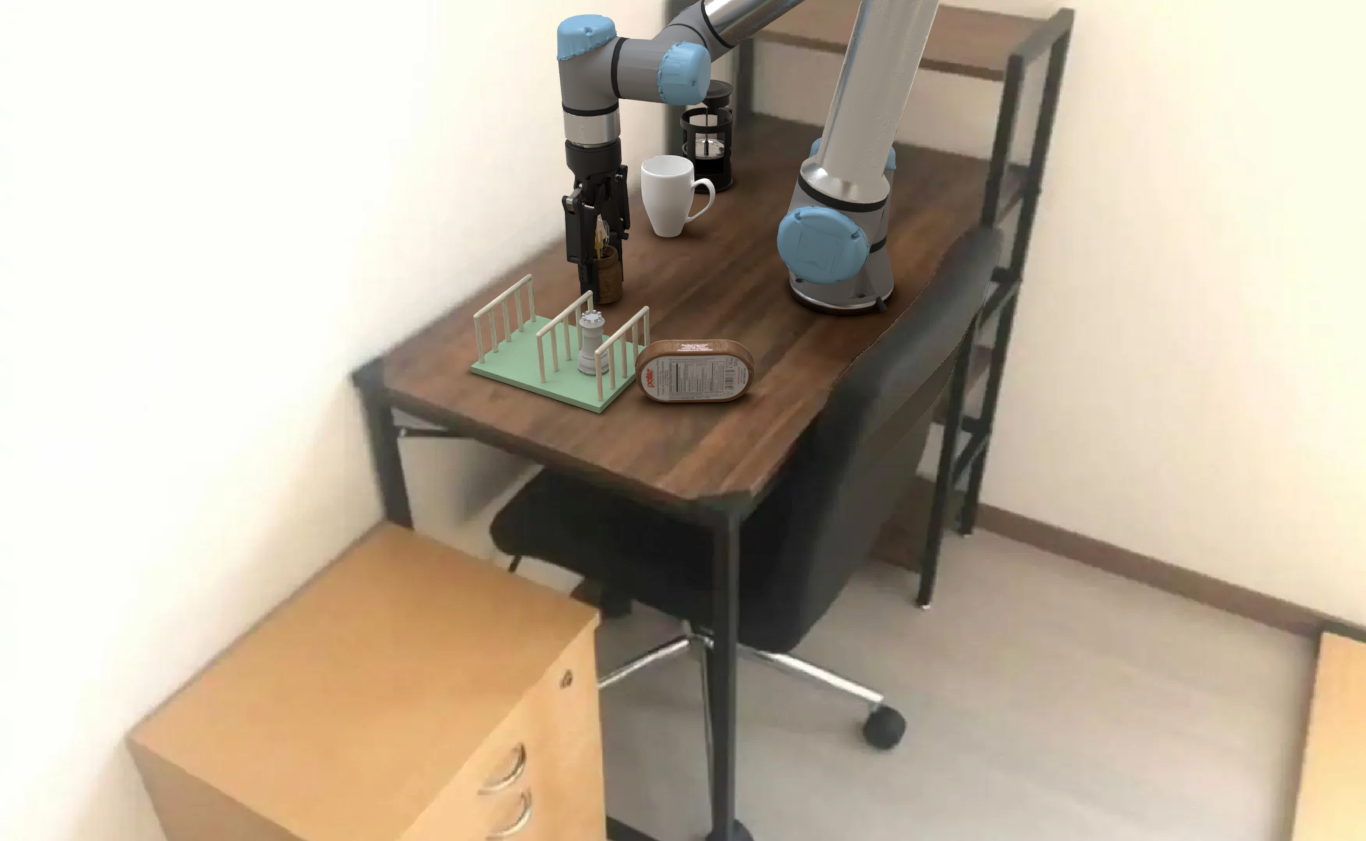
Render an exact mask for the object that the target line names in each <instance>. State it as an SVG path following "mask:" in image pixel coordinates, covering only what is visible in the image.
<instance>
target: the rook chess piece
mask: <svg viewBox="0 0 1366 841" xmlns="http://www.w3.org/2000/svg"><path fill="white" fill-rule="evenodd" d="M605 322H606V320H605V318H604V317H603V316H602V312H601V311H597V309H593V310H592V313H589V310H588V309H587V310H585V311H584V312H581V319H580V321H579V323H580V325H581V326H582V329H583V330H582V334H583V336H584V340H583V348H582V350H581V352H580V354H579V356H578V368H579V369H580V370H581V371H582V372H583V373H585V374H587V375H596V363H595V351H596V350H597V349H598V348H599V347H600V346H601V345H602V344H603V339H602V334H603V333H604V329H603V328H602V327H603V325H604V324H605ZM603 335H604V334H603ZM601 369H602V374H603V373H605V372H606V371H608V369H609V358H608V352H607V349H606V350H605V351H604V352H603V353H602V354H601Z"/></svg>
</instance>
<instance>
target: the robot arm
mask: <svg viewBox="0 0 1366 841" xmlns="http://www.w3.org/2000/svg"><path fill="white" fill-rule="evenodd" d="M805 1H806V0H698V1H697V2H695V3H694V4H692V5H690V6H687V7H686V8H684V9H682V10H681V11H680V12H679V13H677V14H676V15H675V16H674V17H673V19H672V21H670V22H669V24H667V25H666V26H665V27H663V29H661V30H660V31H659V32H658V33H657V34H656V35H655V36H654V37H653V38H652V39H651V38H650V39H646V38H630V37H624V36H618V34H617V32H618V31H617V30H616V26H615V22H614V20H613V19H612V18H611V17H609V16H603V15H602V14H597V13H588V14H587V13H584V14H576V15H572V16H569V17H566V18H565V19H563V20H562V21H561V22H560V23H559V24H558V26H557V29H556V42H557V43H556V49H557V50H556V53H557V54H556V61H557V66H558V76H559V84H560V86H559V87H560V95H561V108H562V119H563V120H562V122H563V134H564V137H565V141H564V151H565V162H566V166H567V168H568V169H569V170H570V171H571V172H572V174H573V175H574V180H573V186H572V188H573V191H572V192H571V194H570V195H566V194H565V195H562V197H561V205H562V208H563V211H564V225H565V226H564V228H565V229H564V230H565V248H566V249H565V250H566V252H565V253H566V261H567V263H571V264H575V265H577V273H578V281H579V288H580V289H579V290H580V297H581V296H582V295H584V294H585V293H586V292H587V291H589V290H591V291H592V292H593V295H592V296H593V304H597V303H598V302H600V294H599V279H598V264H597V260H593V258H594V248H595V241H596V234H595V230H597V228H598V222H597V220H598V217H599V216H600V217H601V220H602V221H601V223H602V225H603V228H604V232H605V237H603V244H606V245H607V243H608V245H610V246H613V247H614V248H616V250H617V252H618V256H619V258H618V261H619V262H620V265H621V270H622V283H623V282H625V281H624V263H623V259H624V258H623V241H628V240H629V237H630V233H629V232H625V231H629V230H630V229H631V215H630V201H629V189H628V173H629V166H628V165H627V164H623V156H622V155H623V154H622V140H621V138H620V136H621V132H622V129H621V115H620V114H621V113H620V100H630V101H638V102H647V103H656V104H665V105H669V106H673V107H677V106H697V105H700V104H701V103H702V101H703V100H704V99H705V97H706V93H707V90H708V89H709V85H710V79H711V78H712V64H713V63H714V62H715V61H717V60H719V59H720V58H722V57H723V56H725V55H726V54H728V53H729V52H730V51H732V50H733V49H735V47H737V46H739V45H740V44H741V43H743V42H744V41H746V40H748V39H750V37H752V36H754V35H755V34H757V33H759V31H761V30H762V29H764V28H766V27H767V26H769V25H770V24H772V23H773V22H775V21H777V19H779V18H781V17H782V16H784V15H786V14H787V13H788V12H790V11H791V10H793V9H795V8H796V7H798V6H799V5H800V4H802V3H803V2H805ZM940 2H941V0H860V3H859V5H858V9H857V14H856V17H855V20H854V24H853V27H852V31H851V34H850V37H849V40H848V45H847V48H846V51H845V55H844V59H843V62H842V66H841V69H840V72H839V76H838V79H837V83H836V86H835V89H834V93H833V97H832V100H831V102H830V107H829V110H828V114H827V117H826V121H825V125H824V128H823V131H822V135H821V137H818V138H817V139H816V140H814V141H813V143H812V144H811V147H810V152H809V155H808V158H806V159H805V160H804V161H803V162H802V163H801V166H800V167H799V168H800V169H799V172H798V176H797V178H796V182H795V185H794V189H793V193H792V197H791V200H790V203H789V207H788V210H787V212H786V214H785V216H784V217H783V218H782V220H781V221H780V223H779V224H778V225H779V226H778V231H777V237H776V246H777V250H778V255H779V257H780V259H781V260H782V261H783V263H784V265H786V268H787V269H788V273H789V280H788V281H789V282H788V290H789V293H790V295H791V296H792V298H793V299H794V300H795V301H797V303H799V304H801V305H802V306H804V307H806V308H808V309H810V310H813V311H816V312H818V313H823V314H829V315H837V316H857V315H864V314H869V313H873V312H876V311H877V310H880V312H881V313H882V314H883V313H885V312H887V311H888V307H887V306H886V305H887V304H889V303H890V302H891V300H892V298H893V294H894V286H895V281H894V276H893V272H892V271H893V270H892V267H891V263H890V259H889V254H888V250H887V237H888V236H887V235H888V227H889V219H890V210H891V201H892V193H893V185H894V184H893V183H894V175H895V170H897V165H896V151H895V148H894V147H893V145H894V141H895V139H896V136H897V132H898V129H899V126H900V123H901V120H902V116H903V114H904V112H905V108H906V105H907V102H908V99H909V97H910V94H911V93H910V92H911V90H912V87H913V84H914V81H915V77H916V75H917V73H918V72H917V71H918V69H919V66H920V63H921V60H922V57H923V53H924V51H925V48H926V45H927V42H928V39H929V36H930V33H931V30H932V27H933V24H934V20H935V17H936V14H937V11H938V8H939V6H940ZM603 220H604V221H603ZM603 222H604V223H603ZM605 222H606V223H605ZM604 224H605V225H604ZM607 224H608V225H607ZM606 225H607V228H605V227H606ZM608 227H609V230H608ZM606 239H607V241H606ZM608 240H609V241H608ZM585 302H588V300H586V301H585Z"/></svg>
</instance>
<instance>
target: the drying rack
mask: <svg viewBox="0 0 1366 841" xmlns="http://www.w3.org/2000/svg"><path fill="white" fill-rule="evenodd" d="M525 284H527V291H528V304H529V313H530V318H529V319H528V320H526V321H525V322H524V318H523V308H522V298H521V288H522V287H523V286H525ZM512 294H514V299H515V308H516V317H517V327H518V328H516V329H515V330H514V331H512V332H511V325H510V319H509V318H510V317H509V306H508V297H510V296H511V295H512ZM534 294H535V293H534V283H533V275H532V274H531V273H528V274H526V275H525V276H524V277H522V278H521V279H519V280H518V281H517V282H515V283H514V284H513V285H511V286H510V287H508V288H507V289H506V290H505V291H504V292H502V293H501V294H499V295H498V296H497V297H496V298H494V299H492V300H491V301H490V302H489V303H487V304H486V305H485V306H483V307H482V308H480V309H479V310H478V311H477V312H475V313H474V314H473V316H472V317H473V323H474V329H475V330H474V331H475V339H476V345H477V353H478V360H476V361H475V362H474V363H473V364H471V365H470V372H471V373H472V374H475V375H479V376H481V377H485V378H488V379H491V380H495V381H497V382H501V383H503V384H507V385H510V386H512V387H516V388H519V389H523V390H526V391H528V392H532V393H534V394H537V395H541V396H543V397H547V398H550V399H553V400H557V401H560V402H562V403H565V404H568V405H572V406H575V407H578V408H581V409H584V410H587V411H591V412H593V413H597V414H600V415H601V413H603V411H605V409H606V408H607V407H608V406H609V405H610V404H611V403H613V402H614V400H616V399H617V398H618V396H620V394H622V393H623V392H624V391H625V390H626V389H627V388H628V387H630V385H631V384H632V383H633V382H634V381H635V380H636V371H635V363H636V359H637V357H638V355H639V353H640V352H641V351H642V350H643V349H644V348H645V347H647V346H648V345H650V344H651V336H650V335H651V334H650V332H651V331H650V307H649V306H648V305H644V306H643V307H642V308H641V309H640V310H639V311H638V312H637V313H635V314H634V315H633V316H632V317H631V318H630V319H629V320H628V321H626V322H625V323H624V324H623V325H622V326H621V327H620V328H619V329H618V330H616V331H615V332H614V333H613V334H612V335H611V336H610V335H607V334H606V335H605V334H602V339H603V344H602V345H601V346H600V347H599V348H598V349H597V350H596V351H595V363H596V375H587V374H585V373H583V372H582V371H581V370H580V369H579V368H578V356H579V354H580V352H581V350H582V348H583V340H584V336H583V334H582V330H583V327H582V326H581V325H580V323H579V321H580V319H581V318H582V310H581V305H582V304H584V303H585V302H587V311H588V310H589V313H592V310H594V303H593V296H592V295H593V292H592V291H591V290H589V291H587V292H586V293H585V294H584V295H582V296H581V295H580V297H578V298H577V299H576V300H575V301H573V302H572V303H571V304H570V305H569V306H568V307H566V308H565V309H564V310H563V311H562V312H560V313H559V314H557V315H556V316H555V317H554V318H553V319H550V318H548V317H544V316H540V315H537V314H536V303H535V295H534ZM586 300H588V301H586ZM500 303H501V309H502V317H503V325H504V334H505V338H504V339H502V341H500V342H499V343H498V337H497V329H496V321H495V320H496V319H495V312H494V311H495V310H494V308H496V307H497V306H498V305H500ZM574 311H575V312H574ZM573 312H574V313H575V325H571V324H570V323H569V316H570V315H571V313H573ZM487 313H488V322H489V329H490V338H491V345H492V346H491V347H492V348H491V349H490V350H489V351H487V353H485V351H484V344H483V335H482V328H481V320H480V319H481V318H482V317H484V316H485V315H486V314H487ZM642 318H643V334H644V335H643V336H644V339H643V340H644V345H641V344H639V326H638V324H639V322H638V321H640V320H641V319H642ZM630 329H632V330H631V332H632V333H631V334H632V342H630V341H627V331H628V330H630ZM606 349H607V352H608V358H609V369H608V371H606V372H605V373H603V374H602V369H601V354H602V353H603V352H604V351H605V350H606Z"/></svg>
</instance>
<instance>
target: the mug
mask: <svg viewBox="0 0 1366 841" xmlns="http://www.w3.org/2000/svg"><path fill="white" fill-rule="evenodd" d="M699 184H705V185H706V186H707V187H708V189H709V191H710V194H709V202H708V204H707V205H706V206H705V207H704V208H703V209H701V210H700V211H699V212H697V213H696V214H694V215H693V216H689V213H690V210H691V208H692V205H693V201H694V197H695V193H694V189H695V187H696V186H698V185H699ZM640 185H641V187H640V188H641V190H640V191H641V197H642V198H641V200H642V204H643V207H644V210H645V213H646V214H647V216H648V219H649V221H650V224H651V226H652V229H653V232H654V233H655V234H656V235H657V236H659V237H662V238H674V237H677V236H679V235H680V234H681V233H682V231H683V228H684V226H685V224H687V223H690V222H692V221H694V220H696V219H697V218H699V217H700V216H702V215H703V214H705V213H707V211H709V209H710V208H711V207H712V206H713V204H714V201H715V198H716V193H715V189H714V186H713V184H712V182H711V181H710V180H708V179H700V180H698V181H695V182H694V166H693V164H692V162H691V161H690V160H688V159H686V158H683V156H681V155H680V156H679V155H671V154H666V155H665V154H664V155H663V154H662V155H657V156H652V157H650V158H648V159H645V160H643V162H642V163H641V166H640Z"/></svg>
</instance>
